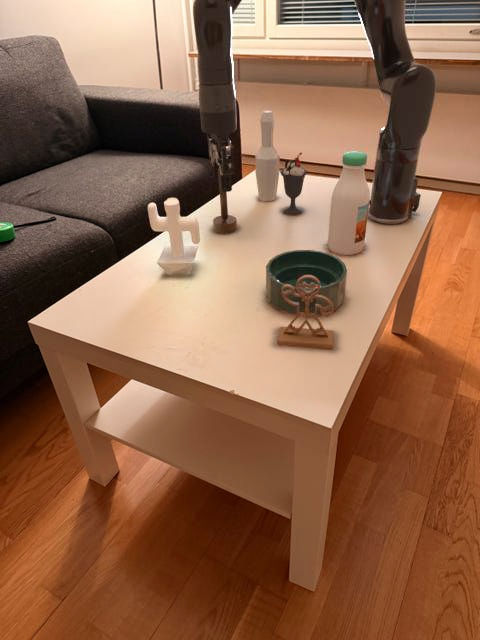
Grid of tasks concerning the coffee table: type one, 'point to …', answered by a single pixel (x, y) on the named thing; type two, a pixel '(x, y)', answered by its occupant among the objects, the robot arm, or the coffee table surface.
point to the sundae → (293, 183)
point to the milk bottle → (349, 206)
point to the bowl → (305, 263)
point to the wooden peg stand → (224, 215)
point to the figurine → (175, 237)
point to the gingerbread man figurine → (303, 335)
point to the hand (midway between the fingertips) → (222, 185)
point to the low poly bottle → (267, 161)
